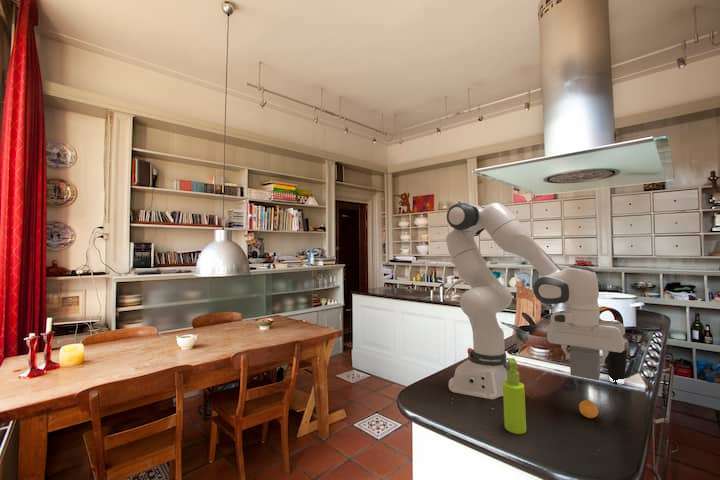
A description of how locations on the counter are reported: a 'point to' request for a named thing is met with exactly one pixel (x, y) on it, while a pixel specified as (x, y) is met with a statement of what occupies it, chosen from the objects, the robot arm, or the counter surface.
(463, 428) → the counter surface
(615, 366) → the drinking cup
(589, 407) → the ball
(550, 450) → the counter surface
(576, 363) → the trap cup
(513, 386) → the soap dispenser
